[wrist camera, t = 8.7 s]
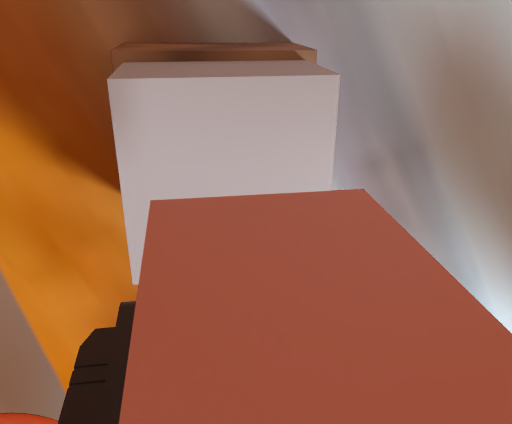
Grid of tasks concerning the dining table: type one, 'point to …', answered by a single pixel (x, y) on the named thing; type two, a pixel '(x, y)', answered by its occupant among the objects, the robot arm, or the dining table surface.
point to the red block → (305, 320)
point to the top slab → (219, 132)
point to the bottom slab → (209, 52)
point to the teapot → (25, 419)
